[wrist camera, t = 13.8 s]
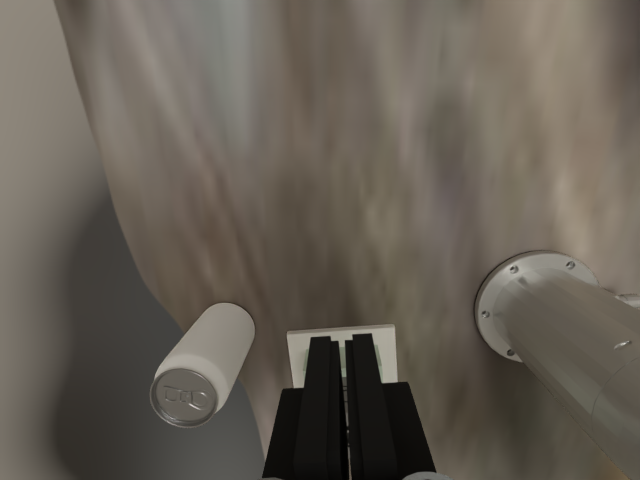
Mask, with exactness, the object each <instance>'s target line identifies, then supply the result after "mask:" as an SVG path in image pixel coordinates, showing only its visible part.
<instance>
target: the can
mask: <svg viewBox="0 0 640 480" xmlns="http://www.w3.org/2000/svg"><path fill="white" fill-rule="evenodd" d="M254 336H255V327H254V322H253V320H252V318H251V316H250V315H249V314H248V313H247V312H246V311H245V310H244V309H243V308H241V307H239V306H237V305H235V304H231V303H218V304H215V305H212V306H211V307H209V308H208V309H207V310H206V311H205V312H204V313H203V314H202V315H201V316H200V317H199V318H198V320H197V321H196V322H195V323H194V324H193V326H192V327H191V328H190V329H189V330H188V332H187V333H186V334H185V335H184V336H183V338H182V339H181V340H180V341H179V343H178V344H177V345H176V346H175V348H173V350H172V351H171V352H170V353H169V355H168V356H167V357H166V358H165V360H164V361H163V362H162V363H161V365H160V366H159V368H158V370H157V372H156V374H155V379H154V381H153V383H152V385H151V388H150V402H151V405H152V407H153V408H154V410H155V412H156V413H157V414H158V415H159V417H161V418H162V419H163V420H164V421H166V422H167V423H169V424H172V425H174V426H177V427H181V428H195V427H199V426H201V425H204V424H205V423H207V422H208V421H209V420H210V419H211V418H212V417H213V416H214V414H215V413H216V412H217V411H218V410H220V409H221V407H222V406H223V405H224V403H225V402H226V399H227V398H228V396H229V394H230V391H231V389H232V387H233V385H234V383H235V380H236V378H237V376H238V374H239V371H240V369H241V367H242V365H243V363H244V360H245V358H246V356H247V354H248V351H249V349H250V347H251V344H252V342H253V339H254Z"/></svg>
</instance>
